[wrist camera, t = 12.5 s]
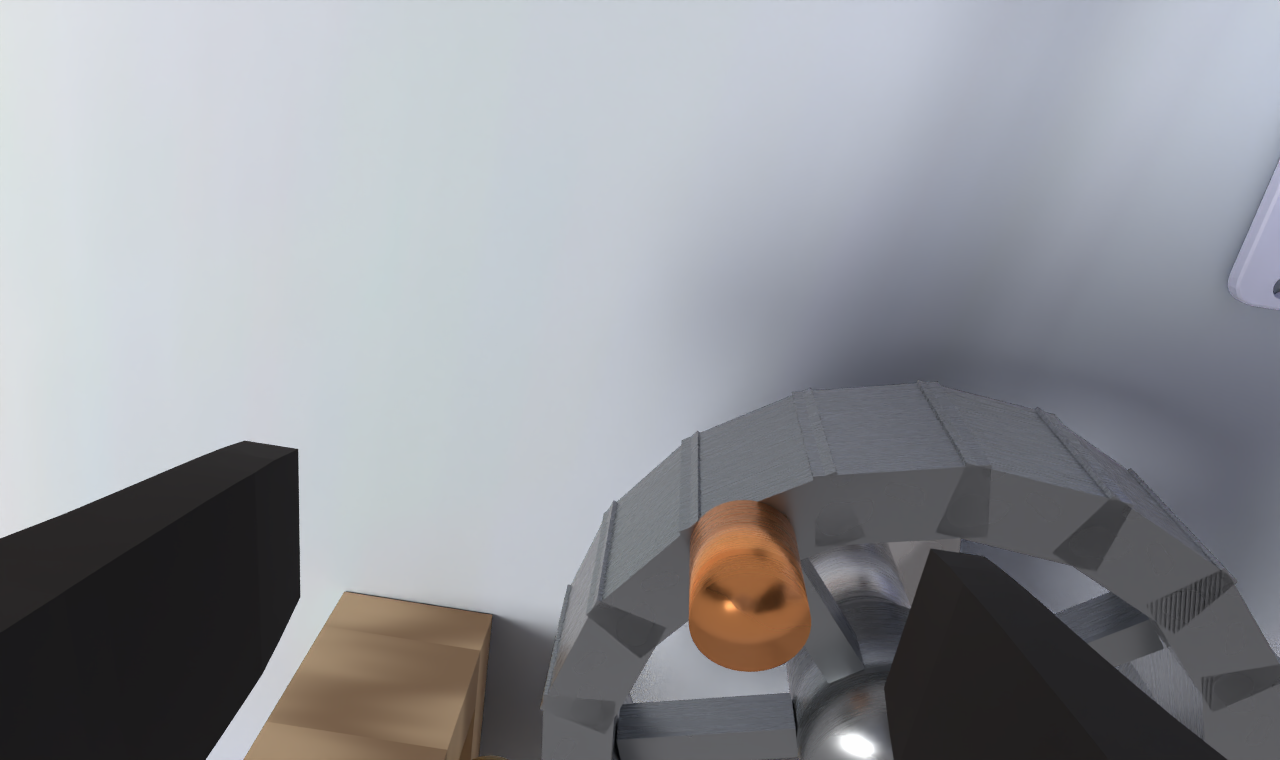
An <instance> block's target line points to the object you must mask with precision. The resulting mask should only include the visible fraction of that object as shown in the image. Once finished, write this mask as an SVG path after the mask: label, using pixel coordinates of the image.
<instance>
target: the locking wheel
mask: <svg viewBox="0 0 1280 760" xmlns="http://www.w3.org/2000/svg"><path fill="white" fill-rule="evenodd" d="M959 538H961V539H965V540H969V541H973V542H977V543H981V544H985V545H989V546H993V547H997V548H1001V549H1005V550H1010V551H1014V552H1018V553H1022V554H1026V555H1030V556H1034V557H1038V558H1042V559H1046V560H1050V561H1054V562H1058V563H1062V564H1066V565H1071V566H1073V567H1074V568H1076V569H1077V570H1079V571H1080V572H1082V573H1083V574H1085V575H1086V576H1088V577H1089V578H1091V579H1093V580H1094V581H1096V582H1097V583H1099V584H1100V585H1102V586H1103V587H1105V588H1106V589H1108V590H1109V591H1111V592H1109V593H1107V594H1104V595H1102V596H1099V597H1097V598H1094V599H1092V600H1089V601H1087V602H1084V603H1082V604H1079V605H1076V606H1074V607H1071V608H1069V609H1066V610H1064V611H1061V612H1059V613H1056V614H1054V615H1055V616H1056V617H1058V618H1059V619H1060V620H1061V621H1062V622H1063V623H1064V624H1066V625H1067V626H1068V627H1069V628H1070V629H1071V630H1072V631H1074V632H1075V633H1076V634H1077V635H1078V636H1079V637H1080V638H1082V639H1083V640H1084V641H1085V642H1086V643H1087V644H1088V645H1089V646H1091V647H1092V648H1093V649H1094V650H1095V651H1096V652H1097V653H1099V654H1100V655H1101V656H1102V657H1103V658H1104V659H1106V660H1107V661H1108V662H1109V663H1110V664H1111V665H1113V666H1114V667H1117V666H1119V669H1118V671H1119V672H1121V673H1122V674H1123V675H1124V676H1125V677H1126V678H1128V679H1129V680H1130V681H1131V682H1132V683H1134V684H1135V685H1136V686H1137V687H1138V688H1139V689H1141V690H1142V691H1143V692H1144V693H1145V694H1147V695H1148V696H1149V697H1150V698H1151V699H1153V700H1154V701H1155V702H1156V703H1157V704H1159V705H1160V706H1161V707H1162V708H1163V709H1165V710H1166V711H1167V712H1168V713H1170V714H1171V715H1172V716H1173V717H1174V718H1176V719H1177V720H1178V721H1179V722H1181V723H1182V724H1183V725H1184V726H1186V727H1187V728H1188V729H1189V730H1191V731H1192V732H1193V733H1195V734H1196V735H1197V736H1198V737H1200V738H1201V739H1202V740H1203V741H1205V742H1206V743H1207V744H1208V745H1210V746H1211V747H1212V748H1214V749H1215V750H1216V751H1217V752H1219V753H1220V754H1221V755H1222V756H1224V757H1225V758H1226V759H1227V760H1280V658H1279V657H1278V656H1277V655H1276V654H1275V653H1274V652H1273V650H1272V649H1271V648H1270V646H1269V644H1268V642H1267V641H1266V639H1265V637H1264V635H1263V634H1262V632H1261V630H1260V628H1259V627H1258V625H1257V623H1256V621H1255V620H1254V618H1253V616H1252V614H1251V613H1250V611H1249V609H1248V607H1247V606H1246V604H1245V602H1244V600H1243V599H1242V597H1241V595H1240V593H1239V592H1238V590H1237V588H1236V586H1235V585H1234V584H1236V583H1237V582H1238V581H1237V580H1236V579H1235V578H1234V577H1233V576H1232V575H1231V574H1230V573H1229V572H1228V571H1227V570H1226V569H1225V567H1224V566H1223V565H1222V564H1221V563H1220V562H1219V561H1218V560H1217V559H1216V558H1215V557H1214V556H1213V555H1212V554H1211V553H1210V552H1209V551H1208V549H1207V548H1206V547H1205V546H1204V545H1203V544H1202V543H1201V542H1200V541H1199V540H1198V539H1197V538H1196V537H1195V536H1194V535H1193V534H1192V532H1191V531H1190V530H1189V529H1188V528H1187V527H1186V526H1185V525H1184V524H1183V523H1182V522H1181V521H1180V520H1179V519H1178V518H1177V517H1176V516H1175V514H1174V513H1173V512H1172V511H1171V510H1170V509H1169V508H1168V507H1167V506H1166V505H1165V504H1164V503H1163V502H1162V501H1161V500H1160V499H1159V498H1158V496H1157V495H1156V494H1155V493H1154V492H1153V491H1152V490H1151V489H1150V488H1149V487H1148V486H1147V485H1146V484H1145V483H1144V482H1143V481H1142V480H1141V478H1140V477H1139V476H1138V475H1137V474H1136V473H1135V472H1134V471H1133V470H1132V469H1129V470H1127V469H1126V468H1124V467H1123V466H1121V465H1120V464H1118V463H1117V462H1116V461H1114V460H1113V459H1111V458H1110V457H1108V456H1107V455H1106V454H1104V453H1103V452H1101V451H1100V450H1098V449H1097V448H1096V447H1094V446H1093V445H1091V444H1090V443H1088V442H1087V441H1086V440H1084V439H1083V438H1081V437H1080V436H1078V435H1077V434H1076V433H1074V432H1073V431H1071V430H1070V429H1068V428H1067V427H1066V426H1064V425H1063V424H1062V423H1061V421H1060V420H1059V419H1058V418H1057V417H1056V416H1055V415H1054V414H1050V413H1046V412H1044V411H1043V410H1041V409H1040V408H1039V407H1037V408H1036V409H1031V408H1027V407H1023V406H1019V405H1015V404H1011V403H1007V402H1003V401H999V400H995V399H991V398H987V397H983V396H979V395H975V394H971V393H968V392H964V391H960V390H956V389H952V388H948V387H944V386H940V384H939V383H938V381H937V382H924V381H920V380H917V382H916V383H910V384H896V385H883V386H869V387H856V388H842V389H828V390H815V391H812V389H811V388H809V389H807V390H804V391H801V392H792V396H790V397H787V398H785V399H782V400H780V401H777V402H775V403H772V404H770V405H767V406H765V407H763V408H760V409H758V410H755V411H753V412H750V413H748V414H745V415H743V416H740V417H738V418H736V419H733V420H731V421H728V422H726V423H723V424H721V425H718V426H716V427H713V428H711V429H709V430H706V431H704V432H701V433H700V432H698V431H697V432H696V433H695V434H693V435H692V436H691V437H689V438H686V439H684V440H682V445H681V446H680V447H679V448H678V449H676V450H675V451H674V452H673V453H672V454H671V455H670V456H669V457H667V458H666V459H665V460H664V461H663V462H662V463H661V464H659V465H658V466H657V467H656V468H655V469H654V470H653V471H652V472H650V473H649V474H648V475H647V476H646V477H645V478H644V479H642V480H641V481H640V482H639V483H638V484H637V485H636V486H635V487H633V488H632V489H631V490H630V491H629V492H628V493H627V494H625V495H624V496H623V497H622V498H621V499H620V500H619V501H617V502H616V501H613V502H612V504H611V506H610V508H609V509H608V510H607V511H606V512H605V513H604V516H603V521H602V524H601V526H600V528H599V530H598V532H597V534H596V536H595V538H594V540H593V542H592V544H591V546H590V548H589V550H588V552H587V554H586V556H585V558H584V560H583V562H582V564H581V566H580V568H579V570H578V572H577V574H576V576H575V578H574V580H573V582H572V584H571V585H568V586H567V591H566V595H565V598H564V602H563V607H562V611H561V616H560V620H559V625H558V629H557V634H556V638H555V643H554V647H553V652H552V656H551V661H550V665H549V670H548V674H547V679H546V683H545V688H544V692H543V697H542V701H541V706H540V710H542V711H543V729H542V760H764V759H781V758H798V755H799V760H894V759H893V752H892V746H891V739H890V733H889V725H888V717H887V709H886V701H885V693H884V686H885V683H886V680H887V677H888V674H889V671H890V668H891V665H892V662H893V659H894V656H895V653H896V650H897V647H898V644H899V641H900V638H901V635H902V632H903V629H904V626H905V623H906V620H907V617H908V614H909V611H910V609H909V608H907V607H904V606H901V605H898V604H893V603H888V602H878V601H865V602H856V603H851V604H846V605H842V606H838V604H837V603H836V601H835V600H834V598H833V596H832V595H831V593H830V592H829V590H828V588H827V587H826V585H825V584H824V582H823V580H822V579H821V577H820V576H819V574H818V572H817V571H816V569H815V567H814V566H813V564H812V563H811V561H810V559H809V558H808V557H810V556H813V555H816V554H818V553H821V552H824V551H827V550H830V549H832V548H835V547H838V546H841V545H853V544H870V543H888V542H906V541H923V540H941V539H959ZM687 621H689V629H690V634H691V637H692V639H693V641H694V643H695V645H696V646H697V648H698V649H699V650H700V651H701V652H702V653H703V654H704V655H705V656H706V657H707V658H708V659H710V660H711V661H713V662H715V663H716V664H718V665H720V666H723V667H725V668H729V669H732V670H737V671H746V672H755V671H763V670H768V669H772V668H774V667H777V666H780V665H782V664H784V663H786V662H787V675H788V682H789V690H790V693H781V694H766V695H751V696H737V697H722V698H707V699H692V700H678V701H663V702H648V703H633V701H632V698H631V696H630V693H629V692H630V690H631V689H632V687H633V685H634V683H635V682H636V680H637V678H638V676H639V675H640V673H641V671H642V669H643V668H644V666H645V664H646V662H647V661H648V659H649V657H650V656H651V654H652V652H653V650H654V649H655V647H656V646H657V645H658V644H659V643H661V642H662V641H663V640H664V639H666V638H667V637H668V636H669V635H671V634H672V633H673V632H675V631H676V630H677V629H678V628H680V627H681V626H682V625H683V624H685V623H686V622H687ZM797 748H798V749H797Z"/></svg>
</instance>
